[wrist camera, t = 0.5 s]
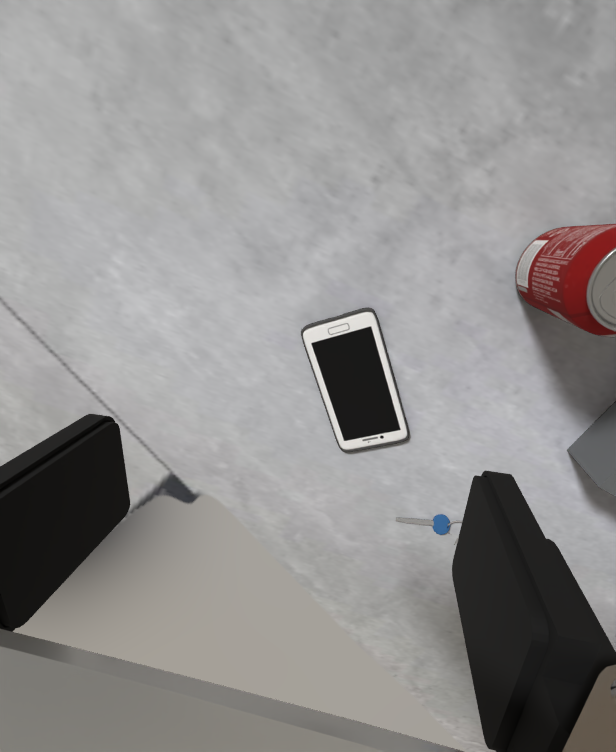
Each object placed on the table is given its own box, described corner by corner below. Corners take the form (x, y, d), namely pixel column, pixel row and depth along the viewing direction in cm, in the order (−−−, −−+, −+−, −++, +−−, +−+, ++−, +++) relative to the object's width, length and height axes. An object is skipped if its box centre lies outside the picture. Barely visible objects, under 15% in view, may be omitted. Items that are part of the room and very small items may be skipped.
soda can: (496, 287, 34) (550, 311, 23) (546, 212, 31) (636, 198, 20) (564, 322, 34) (652, 364, 23) (620, 250, 31) (751, 257, 20)
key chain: (526, 503, 41) (529, 508, 40) (533, 563, 43) (536, 569, 42) (395, 514, 44) (395, 519, 43) (407, 569, 47) (408, 574, 46)
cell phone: (374, 304, 37) (373, 305, 36) (411, 436, 40) (411, 441, 40) (299, 326, 39) (297, 328, 38) (341, 450, 43) (340, 454, 42)
